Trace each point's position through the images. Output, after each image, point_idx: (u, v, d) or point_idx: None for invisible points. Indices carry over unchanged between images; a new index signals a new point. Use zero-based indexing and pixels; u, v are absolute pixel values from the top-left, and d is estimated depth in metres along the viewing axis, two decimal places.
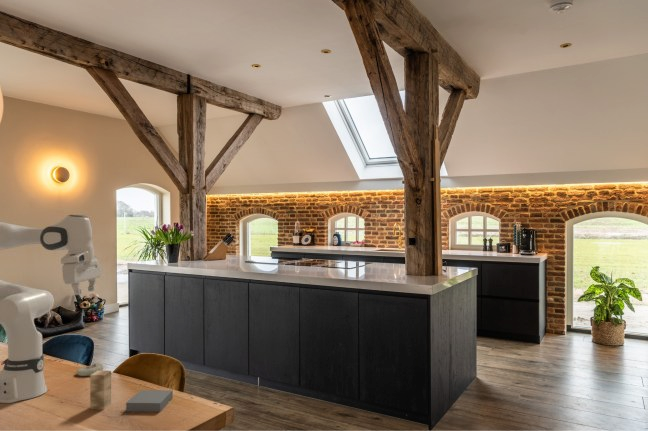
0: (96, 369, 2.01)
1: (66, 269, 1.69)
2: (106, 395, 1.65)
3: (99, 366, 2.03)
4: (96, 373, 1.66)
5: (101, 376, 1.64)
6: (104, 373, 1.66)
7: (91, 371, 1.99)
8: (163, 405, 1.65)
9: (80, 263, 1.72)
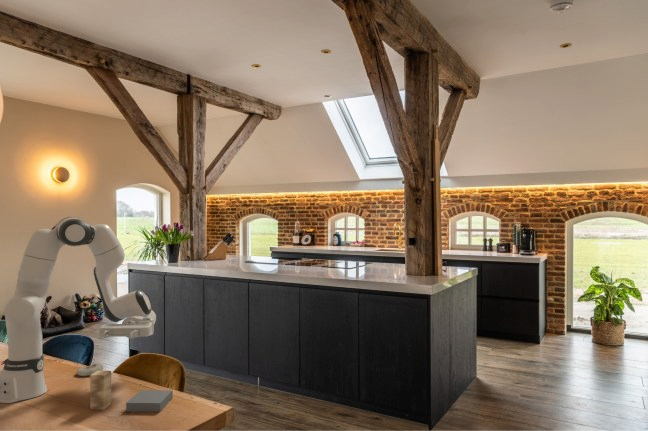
0: (96, 369, 2.01)
1: (152, 327, 1.89)
2: (106, 395, 1.65)
3: (99, 366, 2.03)
4: (96, 373, 1.66)
5: (101, 376, 1.64)
6: (104, 373, 1.66)
7: (91, 371, 1.99)
8: (163, 405, 1.65)
9: None
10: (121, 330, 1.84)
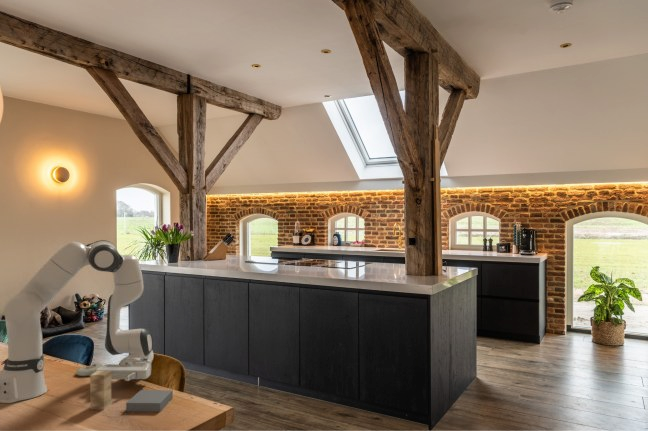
0: None
1: (149, 368, 1.86)
2: (106, 395, 1.65)
3: (99, 366, 2.03)
4: (96, 373, 1.66)
5: (101, 376, 1.64)
6: (104, 373, 1.66)
7: (91, 371, 1.99)
8: (163, 405, 1.65)
9: None
10: (118, 372, 1.82)
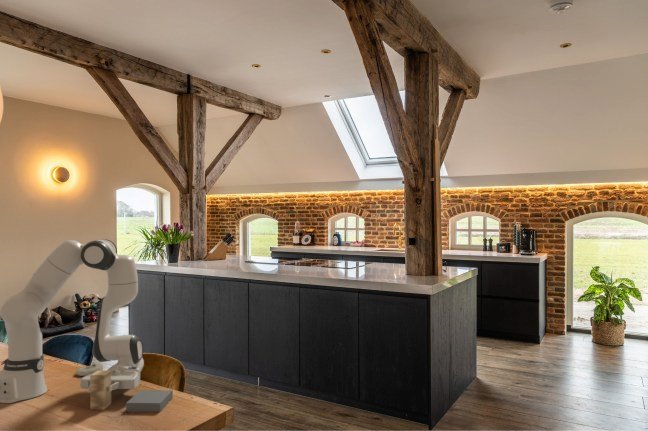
0: (96, 369, 2.01)
1: (138, 377, 1.76)
2: (106, 395, 1.65)
3: (99, 366, 2.03)
4: (96, 373, 1.66)
5: (101, 376, 1.64)
6: (104, 373, 1.66)
7: (91, 371, 1.99)
8: (163, 405, 1.65)
9: None
10: None
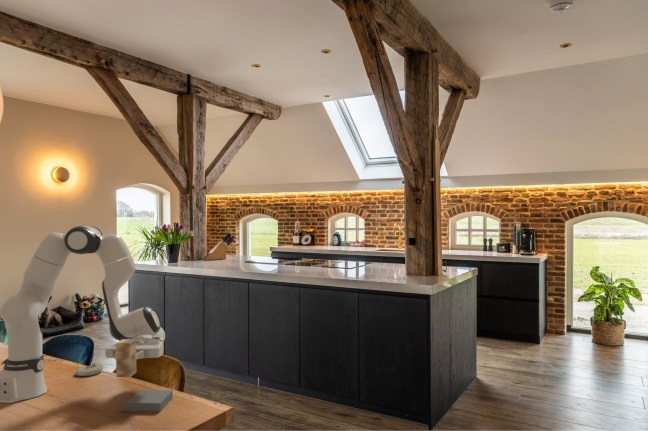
0: (96, 369, 2.01)
1: None
2: (131, 363, 1.66)
3: (99, 366, 2.03)
4: (121, 341, 1.67)
5: (126, 344, 1.65)
6: (129, 341, 1.67)
7: (91, 371, 1.99)
8: (163, 405, 1.65)
9: None
10: None
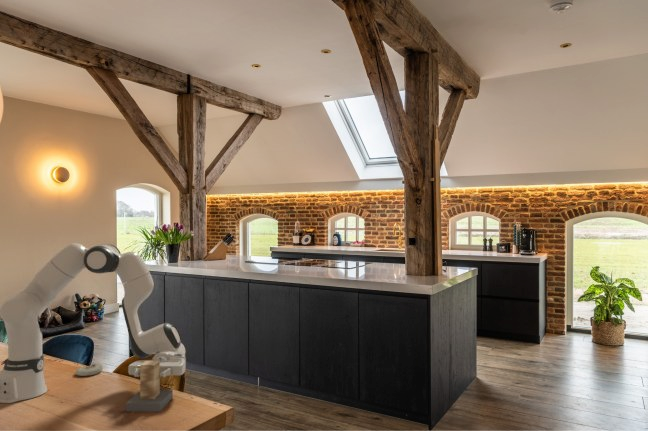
0: (95, 369, 2.01)
1: (184, 364, 1.77)
2: (155, 385, 1.67)
3: (98, 366, 2.03)
4: (145, 363, 1.68)
5: (151, 366, 1.66)
6: (153, 363, 1.68)
7: (90, 371, 1.99)
8: (163, 405, 1.65)
9: None
10: None
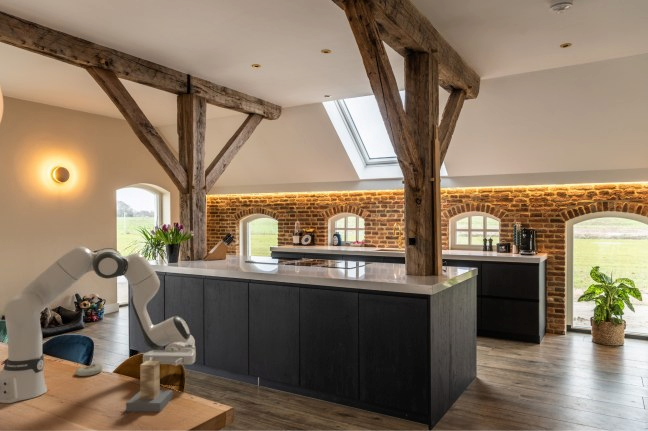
0: (95, 369, 2.01)
1: (194, 354, 1.90)
2: (155, 385, 1.67)
3: (98, 366, 2.03)
4: (145, 363, 1.68)
5: (151, 366, 1.66)
6: (153, 363, 1.68)
7: (90, 371, 1.99)
8: (163, 405, 1.65)
9: None
10: (165, 357, 1.86)
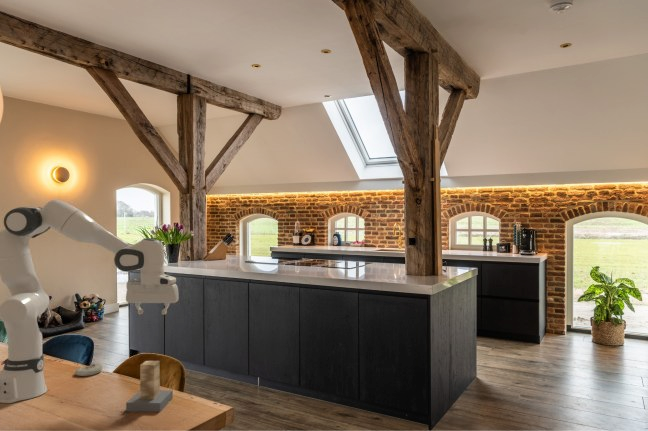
0: (95, 369, 2.01)
1: (175, 288, 1.85)
2: (155, 385, 1.67)
3: (98, 366, 2.03)
4: (145, 363, 1.68)
5: (151, 366, 1.66)
6: (153, 363, 1.68)
7: (90, 371, 1.99)
8: (163, 405, 1.65)
9: None
10: None
